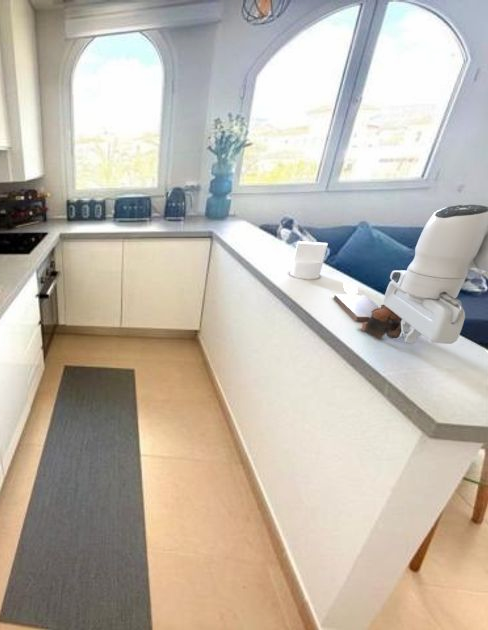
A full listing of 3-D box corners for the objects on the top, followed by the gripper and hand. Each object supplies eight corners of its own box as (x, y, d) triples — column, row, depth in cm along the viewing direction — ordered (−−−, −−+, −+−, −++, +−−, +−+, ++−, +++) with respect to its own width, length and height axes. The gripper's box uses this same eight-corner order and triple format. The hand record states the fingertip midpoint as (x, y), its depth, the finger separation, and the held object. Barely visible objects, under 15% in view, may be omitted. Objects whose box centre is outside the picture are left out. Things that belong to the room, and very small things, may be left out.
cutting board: (364, 299, 105) (365, 295, 105) (391, 323, 92) (393, 318, 91) (333, 298, 108) (334, 294, 107) (355, 321, 94) (357, 316, 93)
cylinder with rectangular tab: (319, 272, 128) (327, 241, 123) (319, 280, 121) (327, 247, 116) (291, 269, 133) (298, 239, 127) (289, 277, 126) (296, 245, 121)
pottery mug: (350, 325, 93) (371, 299, 91) (384, 342, 92) (406, 316, 90) (377, 336, 82) (402, 307, 79) (416, 356, 80) (442, 327, 78)
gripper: (487, 305, 63) (455, 367, 69) (420, 269, 81) (399, 321, 87) (444, 303, 65) (416, 364, 71) (387, 269, 83) (369, 320, 89)
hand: (406, 340), depth 79 cm, fingers closed
